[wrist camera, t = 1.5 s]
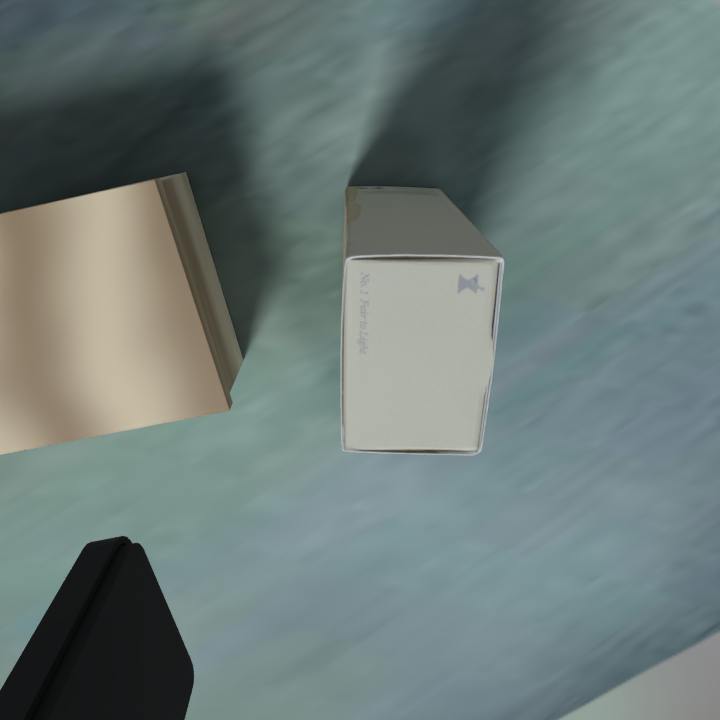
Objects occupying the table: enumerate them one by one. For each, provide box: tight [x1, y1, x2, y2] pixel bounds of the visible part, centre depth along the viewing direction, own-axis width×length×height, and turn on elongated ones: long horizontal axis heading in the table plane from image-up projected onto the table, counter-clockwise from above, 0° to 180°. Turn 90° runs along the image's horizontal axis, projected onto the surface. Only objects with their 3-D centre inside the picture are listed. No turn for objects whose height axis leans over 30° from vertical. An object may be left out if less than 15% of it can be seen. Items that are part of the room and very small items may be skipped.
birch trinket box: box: [0, 172, 243, 455], centre depth 27 cm, size 12×9×5 cm
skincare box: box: [340, 186, 505, 455], centre depth 23 cm, size 6×4×12 cm
